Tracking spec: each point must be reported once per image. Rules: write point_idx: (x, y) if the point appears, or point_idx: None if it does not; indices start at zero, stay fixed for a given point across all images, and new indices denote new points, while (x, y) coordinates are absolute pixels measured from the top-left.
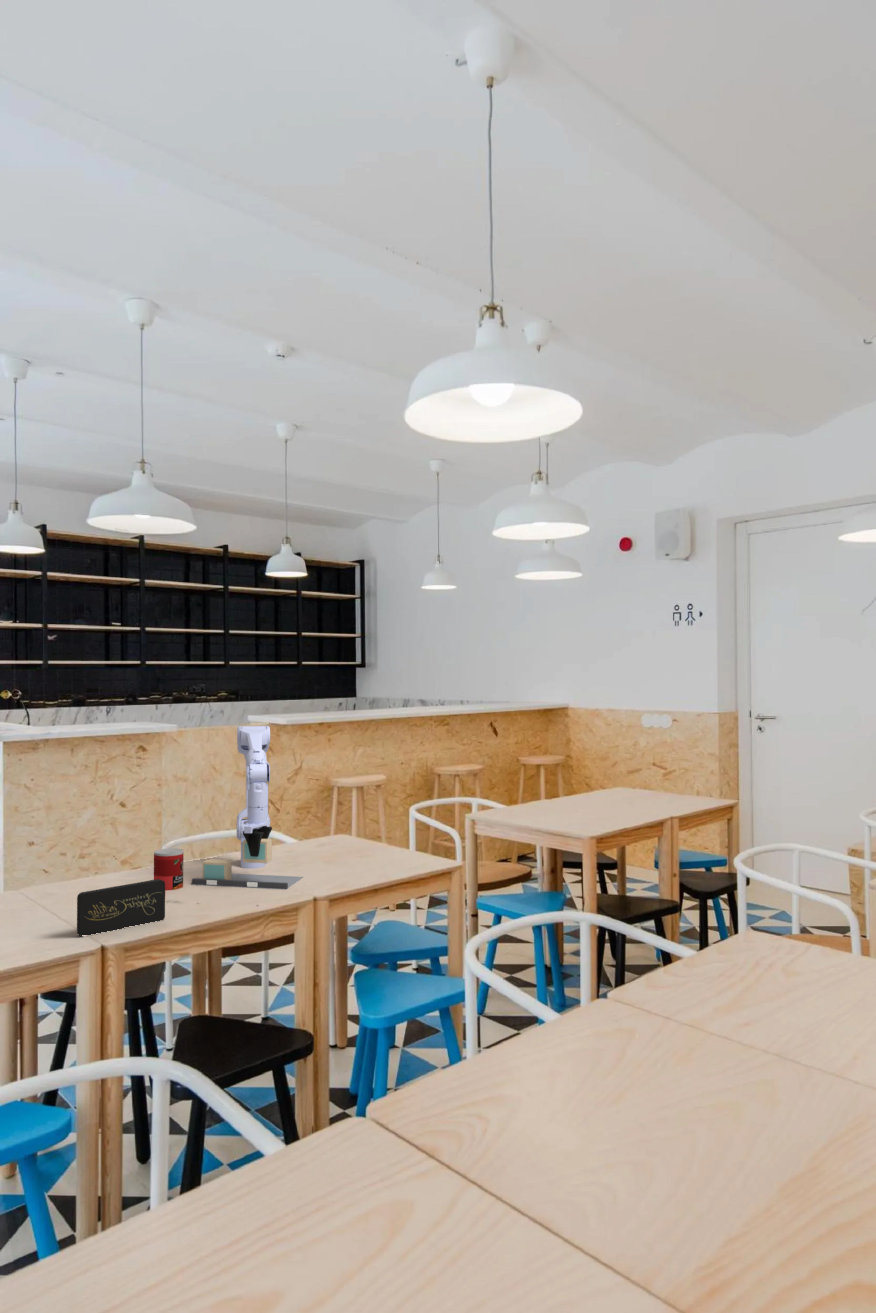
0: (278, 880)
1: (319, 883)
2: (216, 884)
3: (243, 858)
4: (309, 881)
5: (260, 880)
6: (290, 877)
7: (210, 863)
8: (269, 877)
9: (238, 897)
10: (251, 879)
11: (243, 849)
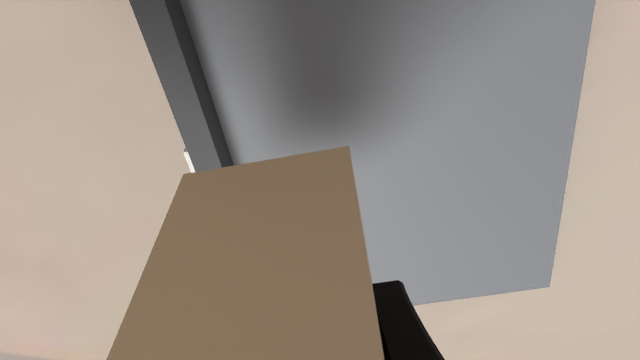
0: (434, 215)
1: (485, 345)
2: None
3: (176, 206)
4: (519, 300)
5: (403, 116)
6: (526, 237)
7: None
8: (507, 127)
9: (39, 159)
10: (415, 36)
11: (140, 293)
